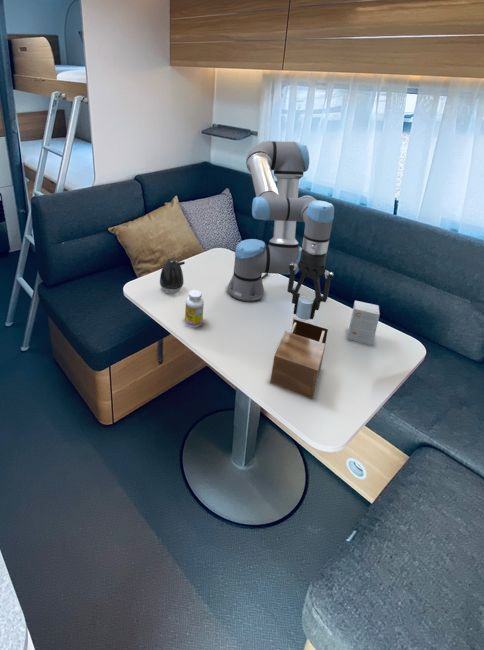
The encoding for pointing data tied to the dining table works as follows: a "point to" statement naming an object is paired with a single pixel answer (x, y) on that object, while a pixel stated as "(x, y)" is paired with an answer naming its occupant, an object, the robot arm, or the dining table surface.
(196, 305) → the supplement bottle
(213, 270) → the dining table surface
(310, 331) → the drawer
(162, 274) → the pump dispenser
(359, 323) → the small box
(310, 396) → the wooden block
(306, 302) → the light blue cylinder
